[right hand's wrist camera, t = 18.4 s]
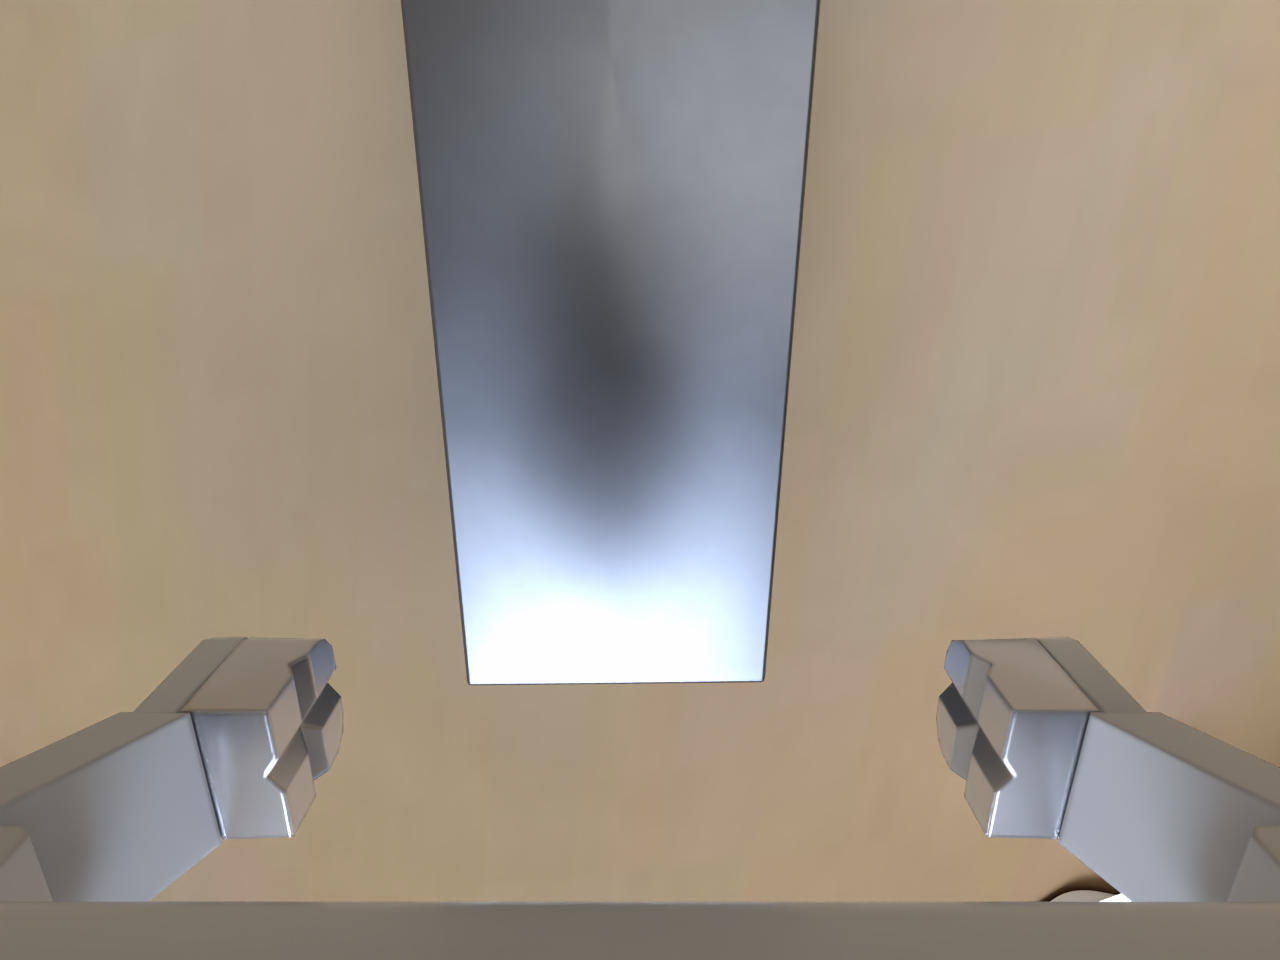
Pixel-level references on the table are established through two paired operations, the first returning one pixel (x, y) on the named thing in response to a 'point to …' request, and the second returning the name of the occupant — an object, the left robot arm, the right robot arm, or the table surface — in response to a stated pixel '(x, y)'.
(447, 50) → the box
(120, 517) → the table surface
